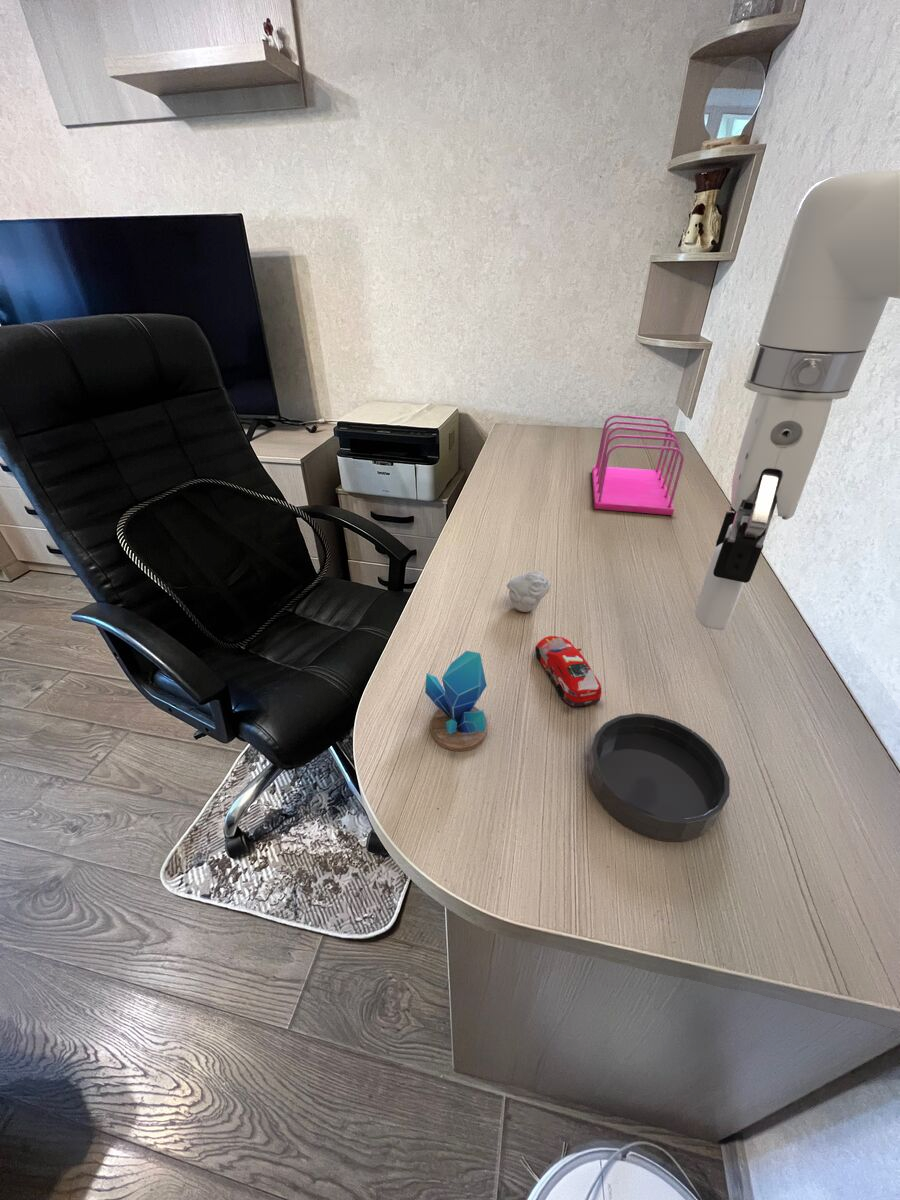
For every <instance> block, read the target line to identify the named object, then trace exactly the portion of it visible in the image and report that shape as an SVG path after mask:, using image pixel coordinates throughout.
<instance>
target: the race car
mask: <svg viewBox="0 0 900 1200" xmlns="http://www.w3.org/2000/svg"><path fill="white" fill-rule="evenodd" d="M581 651H582V648H577V647H575V646H574V645H573V643H572V642H571V641H570V640H568V639H567V638H565V637H562V636H557V635H549V636H545V637H543V638H542V639H540V640H539V642H537V644H536V646H535V656H536V659H537V660H538V661H540V664H541V665H542V667H543V669H544V670H545V672H546V674H547V675H548V677H549V678H550V680H551V682H552V683H553V685H554V687H555V688H556V689H557V693H558V695H559V697H560V699H563V701H565V702H566V703H567V705H569V706H572V707H577V708H579V707H583V706H590V705H593V704H598V702H600V701H601V697H602V686H601V682H600V681H599V679H598V678H597V676H596V674H595V673H594V671H593V670H592V668H591V666H590V665H589V663H588V662H587V660H586V659H585V657H584V656H583V655H582V653H581Z"/></svg>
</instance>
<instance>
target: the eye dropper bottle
mask: <svg viewBox="0 0 900 1200" xmlns="http://www.w3.org/2000/svg"><path fill="white" fill-rule="evenodd" d="M748 519H749V516H743V518H742V521H741V524H740V525H742V524H743V522H746V523H747V522H748ZM731 528H732V524H731V525H730V526H729V528H728V531H727V534H726V537H727V538H729V534H730V531H731ZM722 544H723V543H721V544H719V545H718V546H717V547H716V546H715V548H714V550H713V553H712V556H711V560H710V562H709V565H708V567H707V570H706V574H705V577H704V580H703V583H702V587H701V589H700V592H699V594H698V596H697V597H698V598H697V601H696V603H695V608H694V613H695V618H696V619H697V621H698V623H699V624H700V625H701V626H702V627H704V628H707V629H713V630H718V631H724V630H726V629H727V628H728V626H729V624H730V622H731V619H732V618H733V617H732V616H733V614H734V612H735V610H736V606H737V604H738V601H739V598H740V596H741V593H742V591H743V588H744V586H745V583H744V582H739V581H734V580H729V579H725V578H720V577H716V576H714V574H713V572H714V568H715V565H716V562H717V559H718V556H719V553H720V550H721V547H722Z"/></svg>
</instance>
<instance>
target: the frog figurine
mask: <svg viewBox="0 0 900 1200" xmlns="http://www.w3.org/2000/svg"><path fill="white" fill-rule="evenodd" d="M551 585H552V583H551V581H549V579H548V578H547V577H545V578H544V574H543V572H541V571H539V570H536V571H534V572H532V571H530V572H527V573H524V574H521V575H519V576H516V577H514V578H512V579H511V580H509V581H508V582H507V584H506V587H507V589H508V590H509V591H508V596H509V597H508V598H509V600H510V603H511V605H512V606H513V607H514V609H516V610H517V611H519V612H523V613H524V612H525V613H527V612H532V611H534V610H536V609H537V607H538V606H539V605H540V603H541V601H542V599H543V598H544V597H546V595H547V594H549V591H550V589H551V588H550V587H551Z"/></svg>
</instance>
